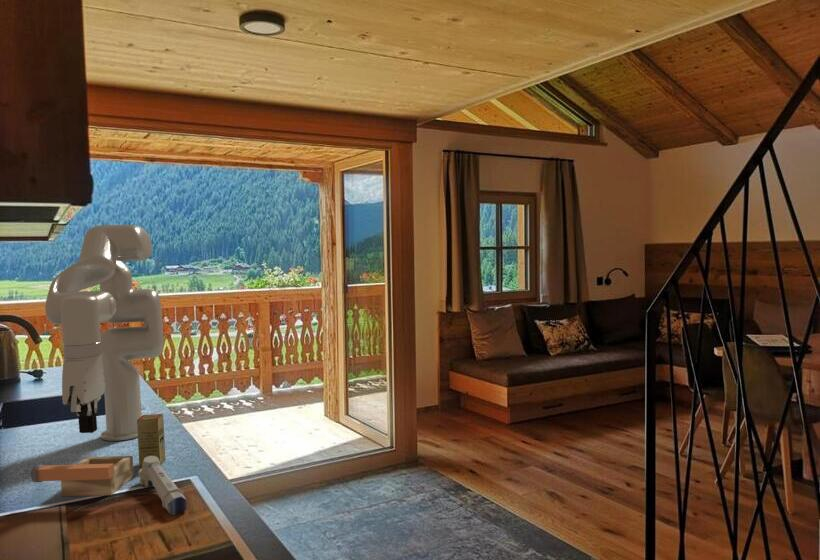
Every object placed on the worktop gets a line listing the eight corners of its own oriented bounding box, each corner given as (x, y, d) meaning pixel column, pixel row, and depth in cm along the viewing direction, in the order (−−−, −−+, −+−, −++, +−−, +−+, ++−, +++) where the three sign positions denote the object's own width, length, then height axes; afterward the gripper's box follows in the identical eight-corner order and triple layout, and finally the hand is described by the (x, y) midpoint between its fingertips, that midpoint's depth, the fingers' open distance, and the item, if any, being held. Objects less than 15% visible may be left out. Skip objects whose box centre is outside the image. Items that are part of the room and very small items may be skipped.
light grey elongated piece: (164, 500, 124) (135, 452, 144) (165, 531, 125) (136, 479, 145) (191, 493, 127) (159, 447, 147) (191, 523, 128) (159, 473, 148)
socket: (87, 477, 148) (86, 457, 148) (133, 476, 148) (132, 455, 148) (61, 496, 137) (60, 474, 137) (111, 494, 137) (110, 472, 137)
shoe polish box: (139, 468, 154) (136, 420, 153) (145, 461, 159) (142, 415, 158) (160, 466, 155) (157, 419, 154) (165, 460, 160) (163, 413, 159)
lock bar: (41, 478, 136) (40, 462, 135) (115, 476, 135) (114, 460, 135) (31, 484, 132) (30, 468, 132) (107, 482, 132) (106, 466, 132)
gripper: (83, 344, 145) (89, 421, 147) (46, 358, 130) (52, 443, 132) (115, 344, 145) (120, 420, 147) (81, 357, 130) (87, 443, 132)
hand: (88, 431), depth 139 cm, fingers closed
